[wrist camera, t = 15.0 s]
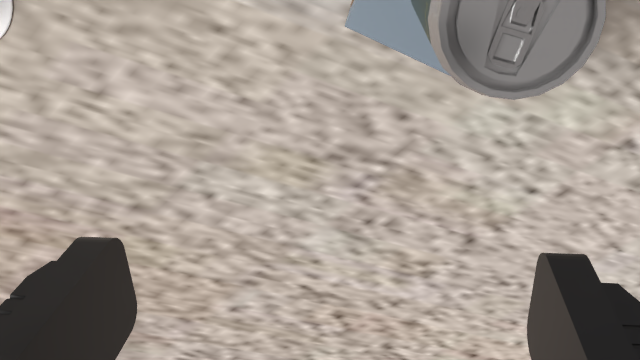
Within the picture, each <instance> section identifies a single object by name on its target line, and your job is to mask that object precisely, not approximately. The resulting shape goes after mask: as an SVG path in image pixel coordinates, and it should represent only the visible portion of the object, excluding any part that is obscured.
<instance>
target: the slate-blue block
mask: <svg viewBox="0 0 640 360" xmlns="http://www.w3.org/2000/svg"><path fill="white" fill-rule="evenodd" d="M345 27H347V28H349V29H351V30H354V31H356V32H358V33H360V34H362V35H364V36H366V37H369V38H371V39H373V40H375V41H377V42H379V43H381V44H383V45H386V46H388V47H390V48H392V49H394V50H396V51H398V52H401V53H403V54H405V55H407V56H409V57H411V58H413V59H415V60H418V61H420V62H422V63H424V64H426V65H428V66H430V67H433V68H435V69H437V70H439V71H441V72H443V73H445V74H448V75H450V74H449V73H448V72H446V71H445V70H444V69H443V68H442V66H441V64H440V62H439V60H438V58H437V56H436V54H435V52H434V50H433V48H432V46H431V44H430V42H429V40H428V37H427V35H426V33H425V31H424V29H423V27H422V25H421V23H420V21H419V18H418V16H417V14H416V12H415V10H414V8H413V6H412V4H411V0H354V1H353V4H352V6H351V8H350V11H349V14H348V17H347V20H346V23H345ZM450 76H451V75H450Z"/></svg>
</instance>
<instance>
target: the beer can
mask: <svg viewBox="0 0 640 360" xmlns="http://www.w3.org/2000/svg"><path fill="white" fill-rule="evenodd" d="M411 4H412V6H413V8H414V10H415V12H416V14H417V16H418V18H419V21H420V23H421V25H422V27H423V29H424V31H425V33H426V35H427V37H428V40H429V42H430V44H431V46H432V48H433V50H434V52H435V54H436V56H437V58H438V60H439V62H440V64H441V66H442V68H443V69H444V70H445V71H446V72H448V73H449V74H450V75H451V76H452V77H453V78H454V79H455V80H456V81H457V82H458V83H459V84H460V85H462V86H464V87H466V88H469V89H471V90H473V91H475V92H477V93H479V94H481V95H487V96H490V97H496V98H505V99H513V100H515V99H521V98H526V97H532V96H538V95H541V94H543V93H545V92H547V91H549V90H551V89H553V88H555V87H557V86H559V85H561V84H563V83H564V82H565V81H567V80H568V79H569V78H570V77H571V76H572V75H573V74H574V73H576V72H577V71H578V70H579V69H580V68H581V67H582V66H583V65H584V64H585V62H586V61H587V59H588V58H589V56H590V55H591V53H592V52H593V50H594V49H595V47H596V45H597V44H598V42H599V38H600V35H601V32H602V28H603V25H604V22H605V18H606V0H411Z"/></svg>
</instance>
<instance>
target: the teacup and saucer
mask: <svg viewBox="0 0 640 360" xmlns="http://www.w3.org/2000/svg"><path fill="white" fill-rule="evenodd" d="M12 12H13V4H12V0H0V38H1V37H2V36H3V35H4V34H5V33H6V31H7V29H8V27H9V25H10V22H11V19H12Z"/></svg>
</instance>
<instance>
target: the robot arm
mask: <svg viewBox="0 0 640 360" xmlns="http://www.w3.org/2000/svg"><path fill="white" fill-rule="evenodd" d="M136 314H137V300H136V295H135V291H134V287H133V283H132V278H131V274H130V270H129V266H128V261H127V257H126V253H125V249H124V246H123V243H122V242H121V240H119V239H118V238H100V237H79V238H77V239H76V240H75V241H74V242H73V243H72V244H71V245H70V246H69V247H68V249H67V250H66V251H65V252H64V253H63V254H62V255H61V257H60V258H59V259H58V260H57V261H51V262H49V263H48V264H46V265H44V266H43V267H41V268H40V269H38V270H37V271H35V272H33V273H32V274H30V275H29V276H27V277H26V278H25V279H24V280H23V282H22V283H21V284H20V285H19V286H18V287H17V288H16V289H15V290H14V291H13V292H12V294H11V295H10V299H6V300H5V301H4V302H3V303H2V304H1V306H0V360H115V359H116V357H117V356H118V354H119V352H120V351H121V349H122V347H123V345H124V344H125V342H126V340H127V338H128V337H129V335H130V333H131V331H132V329H133V327H134V324H135V320H136ZM527 337H528V347H529V352H530V356H531V360H640V302H639V301H638V300H637V299H636V298H634V297H633V296H632V295H631V294H630V293H628V292H627V291H626V290H625V289H624V288H622V287H621V286H620V285H619V284H615V283H601V282H600V280H599V278H598V276H597V274H596V272H595V270H594V268H593V266H592V264H591V262H590V260H589V259H588V257H587V256H586V255H584V254H559V253H541V254H540V255H539V258H538V261H537V266H536V272H535V278H534V284H533V290H532V296H531V302H530V308H529V315H528V323H527Z"/></svg>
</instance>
